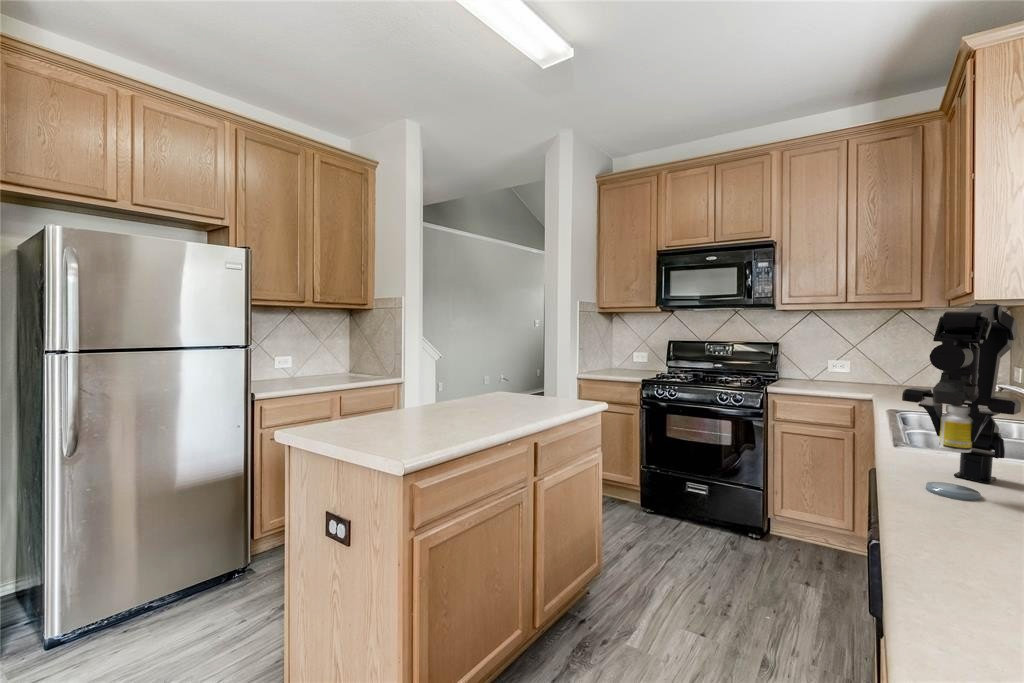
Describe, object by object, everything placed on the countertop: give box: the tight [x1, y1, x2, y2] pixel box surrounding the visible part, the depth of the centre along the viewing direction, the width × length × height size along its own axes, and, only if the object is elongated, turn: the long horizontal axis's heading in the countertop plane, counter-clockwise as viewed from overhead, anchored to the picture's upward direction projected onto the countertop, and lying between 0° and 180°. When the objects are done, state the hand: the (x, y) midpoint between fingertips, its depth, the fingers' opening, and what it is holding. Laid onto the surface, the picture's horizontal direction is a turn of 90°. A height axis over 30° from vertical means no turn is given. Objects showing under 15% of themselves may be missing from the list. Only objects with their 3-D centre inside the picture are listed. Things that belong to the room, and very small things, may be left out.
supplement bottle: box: [938, 404, 974, 454], centre depth 109 cm, size 5×5×10 cm
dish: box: [925, 481, 981, 502], centre depth 110 cm, size 9×9×1 cm
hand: (955, 438), depth 109 cm, fingers closed on supplement bottle, 5 cm apart
